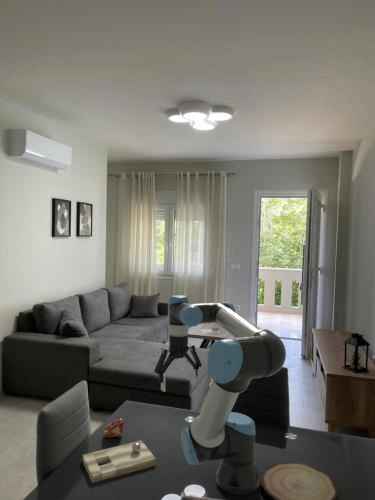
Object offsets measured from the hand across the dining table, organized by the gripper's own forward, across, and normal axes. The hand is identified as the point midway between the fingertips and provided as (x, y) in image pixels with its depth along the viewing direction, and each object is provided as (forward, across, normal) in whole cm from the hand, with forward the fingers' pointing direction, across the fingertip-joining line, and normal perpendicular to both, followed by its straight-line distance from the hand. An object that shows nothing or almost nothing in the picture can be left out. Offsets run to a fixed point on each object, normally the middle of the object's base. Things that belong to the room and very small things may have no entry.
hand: (178, 387), depth 157 cm
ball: (+22, +16, -4) cm, 28 cm away
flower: (+26, +19, -24) cm, 40 cm away
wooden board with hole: (+26, +23, -4) cm, 35 cm away
